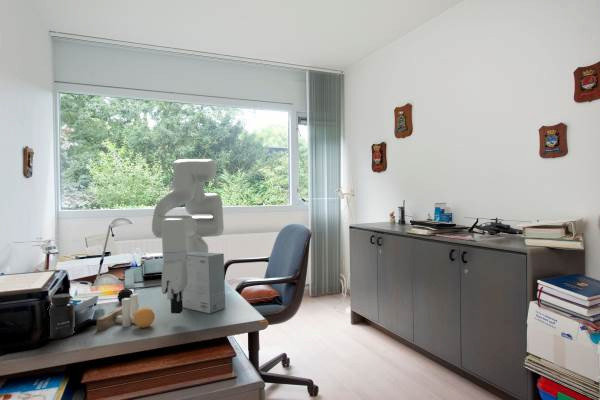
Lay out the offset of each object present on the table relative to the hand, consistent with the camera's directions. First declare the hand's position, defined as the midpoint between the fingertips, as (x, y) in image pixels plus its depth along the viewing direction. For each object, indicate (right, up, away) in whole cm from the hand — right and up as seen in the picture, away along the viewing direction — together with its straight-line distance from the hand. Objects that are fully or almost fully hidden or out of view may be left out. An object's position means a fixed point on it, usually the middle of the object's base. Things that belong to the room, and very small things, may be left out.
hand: (176, 312), depth 120 cm
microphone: (-31, -4, +31) cm, 44 cm away
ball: (-9, -1, -3) cm, 10 cm away
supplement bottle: (-32, -4, -9) cm, 33 cm away
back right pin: (-15, -4, +3) cm, 16 cm away
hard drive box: (+5, -3, +15) cm, 16 cm away
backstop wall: (-21, -4, +1) cm, 22 cm away
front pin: (-11, -3, 0) cm, 12 cm away
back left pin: (-15, -4, -2) cm, 16 cm away
